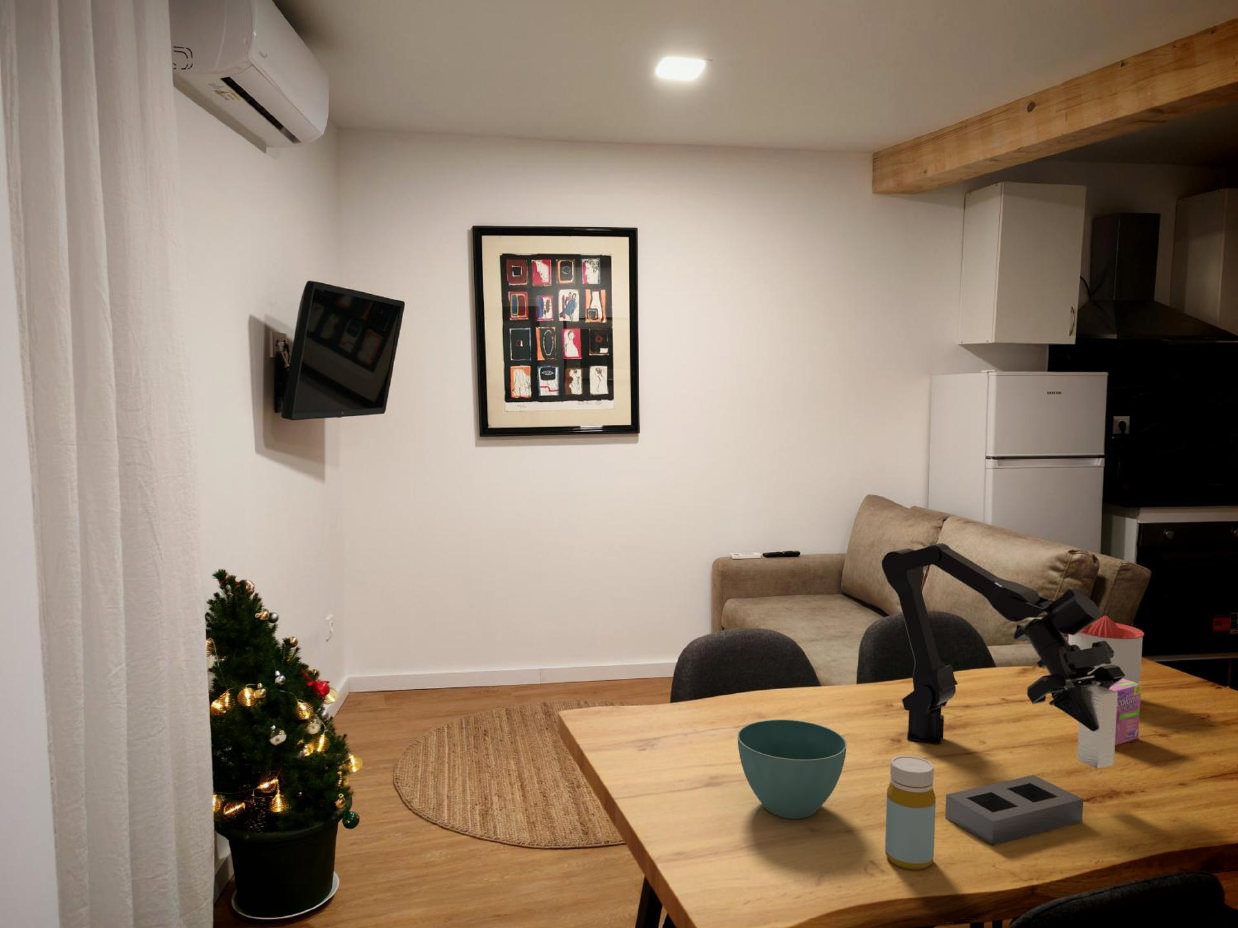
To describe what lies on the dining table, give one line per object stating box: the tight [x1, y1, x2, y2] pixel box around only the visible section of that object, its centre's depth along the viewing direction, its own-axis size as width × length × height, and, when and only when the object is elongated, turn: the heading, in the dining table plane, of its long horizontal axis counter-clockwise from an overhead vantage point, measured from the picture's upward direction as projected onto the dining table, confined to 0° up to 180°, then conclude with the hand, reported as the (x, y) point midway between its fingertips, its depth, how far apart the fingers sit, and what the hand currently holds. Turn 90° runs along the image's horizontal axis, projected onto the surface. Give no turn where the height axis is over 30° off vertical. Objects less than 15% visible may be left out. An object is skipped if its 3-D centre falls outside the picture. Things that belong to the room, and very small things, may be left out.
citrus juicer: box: [1064, 615, 1145, 684], centre depth 205 cm, size 16×17×20 cm
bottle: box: [884, 755, 937, 871], centre depth 132 cm, size 7×7×15 cm
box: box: [1110, 679, 1143, 746], centre depth 180 cm, size 10×6×12 cm, turn 117°
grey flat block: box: [944, 774, 1084, 847], centre depth 145 cm, size 20×10×4 cm, turn 113°
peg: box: [1076, 685, 1118, 769], centre depth 152 cm, size 4×4×13 cm
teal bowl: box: [737, 719, 848, 820], centre depth 149 cm, size 18×18×12 cm
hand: (1104, 728), depth 151 cm, fingers closed on peg, 4 cm apart
